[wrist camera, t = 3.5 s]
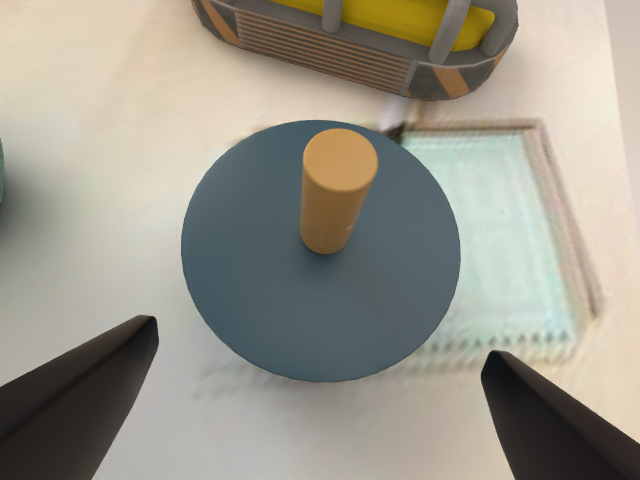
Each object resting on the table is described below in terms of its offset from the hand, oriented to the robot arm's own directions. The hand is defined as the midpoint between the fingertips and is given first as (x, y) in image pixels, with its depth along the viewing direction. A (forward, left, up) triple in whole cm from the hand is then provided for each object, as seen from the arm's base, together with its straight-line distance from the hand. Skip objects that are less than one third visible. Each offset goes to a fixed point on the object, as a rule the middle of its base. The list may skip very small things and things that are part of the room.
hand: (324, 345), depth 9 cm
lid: (+5, +2, -6) cm, 8 cm away
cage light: (+29, +11, -13) cm, 34 cm away
